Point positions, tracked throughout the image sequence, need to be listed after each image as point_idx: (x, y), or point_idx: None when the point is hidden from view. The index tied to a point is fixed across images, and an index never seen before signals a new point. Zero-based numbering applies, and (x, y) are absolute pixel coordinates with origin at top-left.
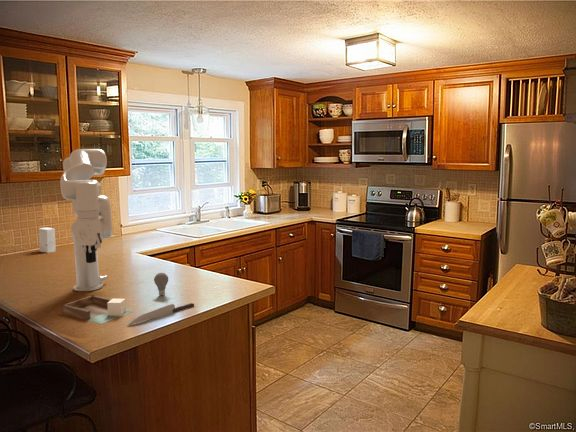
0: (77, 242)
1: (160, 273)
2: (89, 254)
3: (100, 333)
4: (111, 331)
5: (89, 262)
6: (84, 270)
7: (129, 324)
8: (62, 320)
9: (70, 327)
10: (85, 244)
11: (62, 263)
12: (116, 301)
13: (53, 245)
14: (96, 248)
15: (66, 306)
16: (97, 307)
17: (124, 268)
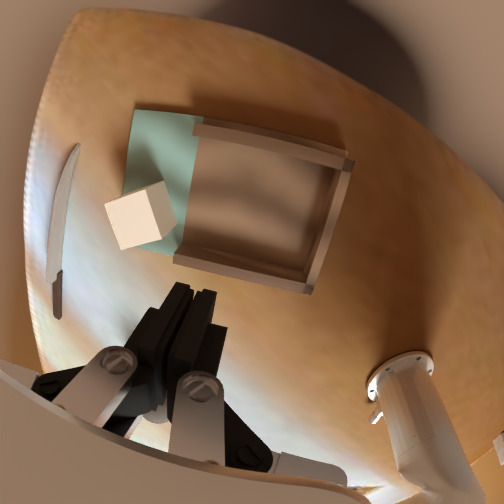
0: (315, 501)
1: (149, 417)
2: (144, 341)
3: (110, 75)
4: (93, 99)
5: (175, 286)
6: (415, 404)
7: (73, 150)
8: (306, 114)
9: (227, 69)
10: (48, 414)
11: (480, 426)
12: (125, 212)
13: (496, 445)
14: (17, 366)
15: (324, 152)
16: (257, 238)
17: (371, 457)
